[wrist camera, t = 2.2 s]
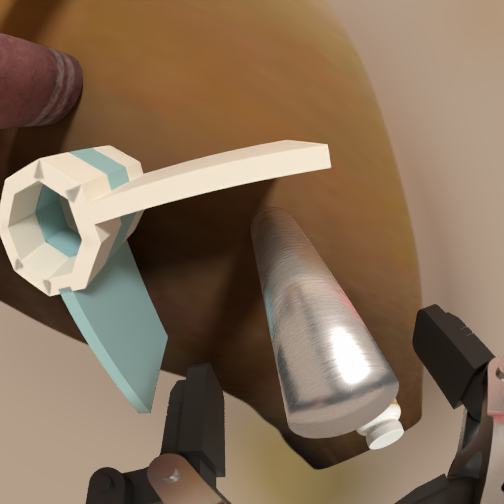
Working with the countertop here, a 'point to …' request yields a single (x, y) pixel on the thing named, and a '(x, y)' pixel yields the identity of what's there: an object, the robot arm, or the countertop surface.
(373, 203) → the countertop surface
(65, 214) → the white hinge leaf
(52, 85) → the can
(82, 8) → the countertop surface
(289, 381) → the hinge pin
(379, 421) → the supplement bottle
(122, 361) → the leaf
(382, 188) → the countertop surface
